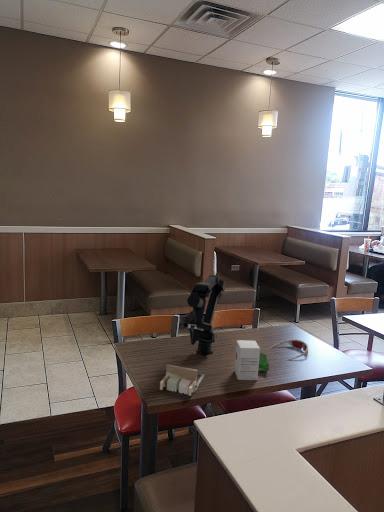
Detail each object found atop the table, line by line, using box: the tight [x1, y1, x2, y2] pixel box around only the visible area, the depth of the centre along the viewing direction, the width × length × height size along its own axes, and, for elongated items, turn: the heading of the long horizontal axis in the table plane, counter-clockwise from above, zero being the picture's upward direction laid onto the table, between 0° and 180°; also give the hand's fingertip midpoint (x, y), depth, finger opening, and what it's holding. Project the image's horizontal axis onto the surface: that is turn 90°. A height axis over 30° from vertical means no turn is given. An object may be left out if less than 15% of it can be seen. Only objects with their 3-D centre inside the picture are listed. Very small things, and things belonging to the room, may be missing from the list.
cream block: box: [178, 379, 191, 395], centre depth 162 cm, size 4×4×4 cm
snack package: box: [258, 352, 270, 372], centre depth 187 cm, size 7×16×5 cm, turn 174°
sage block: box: [166, 377, 180, 393], centre depth 163 cm, size 4×4×4 cm
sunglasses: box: [269, 338, 309, 361], centre depth 206 cm, size 17×17×5 cm
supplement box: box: [234, 339, 261, 381], centre depth 177 cm, size 9×9×15 cm
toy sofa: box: [159, 364, 198, 397], centre depth 161 cm, size 8×14×8 cm, turn 73°
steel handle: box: [164, 372, 205, 393], centre depth 170 cm, size 16×13×1 cm
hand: (192, 344), depth 180 cm, fingers closed
